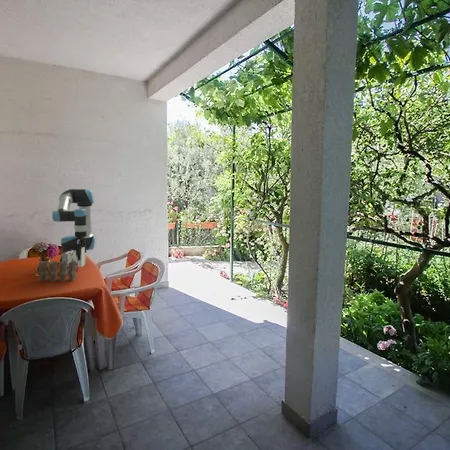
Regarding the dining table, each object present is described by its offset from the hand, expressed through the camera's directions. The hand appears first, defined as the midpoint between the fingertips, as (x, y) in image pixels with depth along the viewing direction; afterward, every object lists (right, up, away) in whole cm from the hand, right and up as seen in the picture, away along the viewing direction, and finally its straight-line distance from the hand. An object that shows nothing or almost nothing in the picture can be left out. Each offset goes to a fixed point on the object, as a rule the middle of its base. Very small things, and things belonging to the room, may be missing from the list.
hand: (81, 263), depth 222 cm
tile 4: (-7, -12, +1) cm, 14 cm away
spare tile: (0, -2, 0) cm, 2 cm away
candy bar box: (-17, -10, +19) cm, 27 cm away
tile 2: (-20, -12, -1) cm, 23 cm away
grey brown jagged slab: (-13, -12, 0) cm, 18 cm away
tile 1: (-26, -12, -1) cm, 29 cm away
